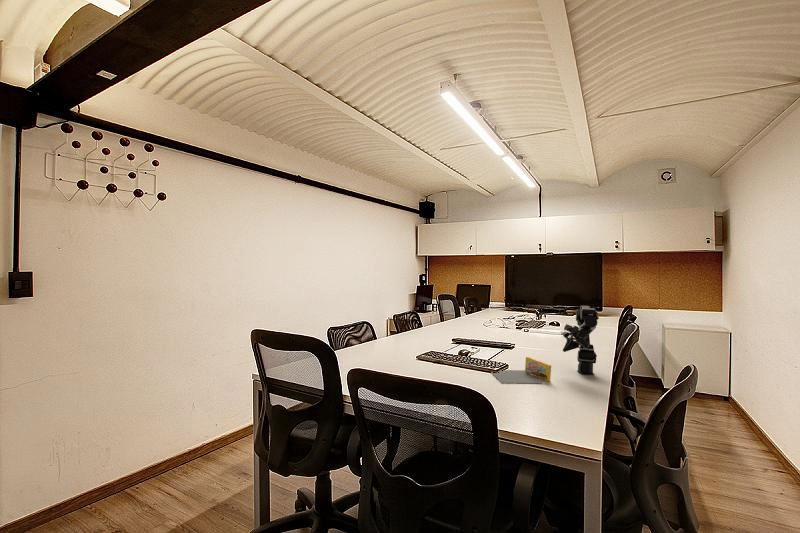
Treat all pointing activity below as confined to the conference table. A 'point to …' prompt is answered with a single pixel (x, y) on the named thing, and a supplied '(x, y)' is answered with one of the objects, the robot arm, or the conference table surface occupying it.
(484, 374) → the conference table surface
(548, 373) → the candy box
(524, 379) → the mat
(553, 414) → the conference table surface
